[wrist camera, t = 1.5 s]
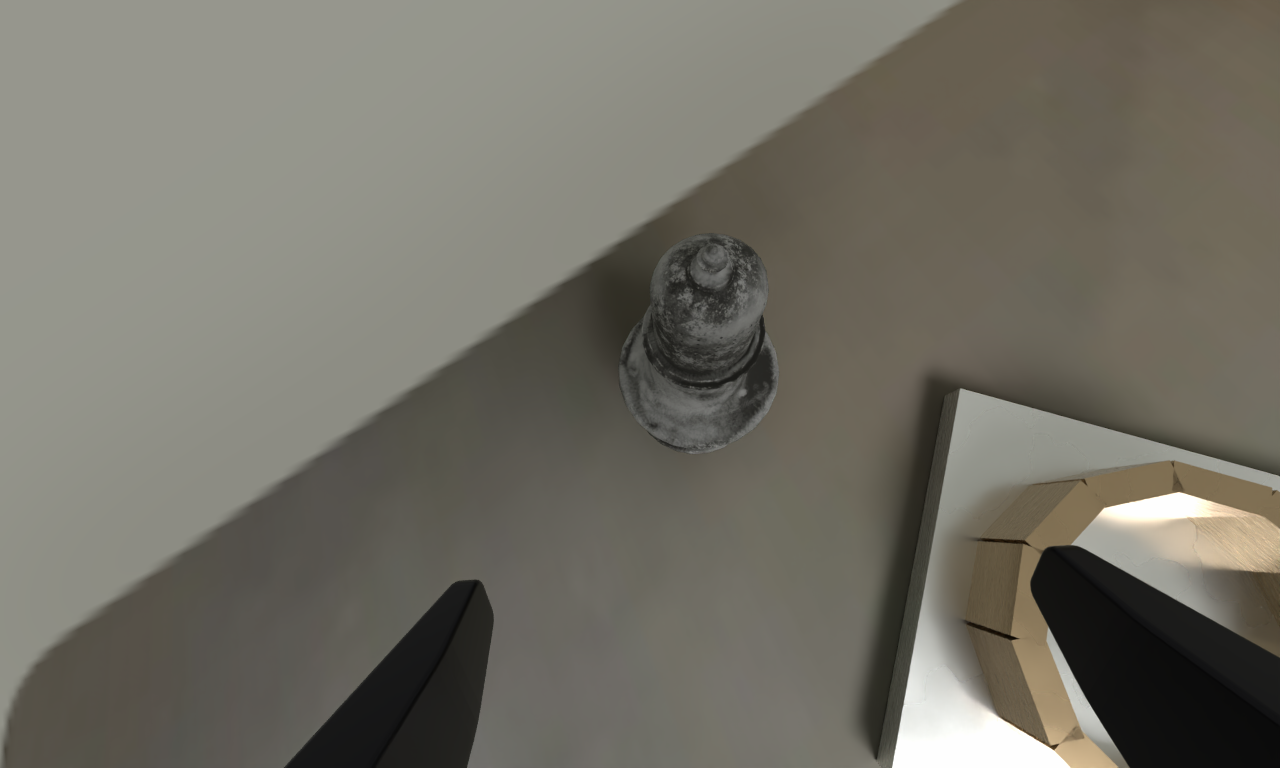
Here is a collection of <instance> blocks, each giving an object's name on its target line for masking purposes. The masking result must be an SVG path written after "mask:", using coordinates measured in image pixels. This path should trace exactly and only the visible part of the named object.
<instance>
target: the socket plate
mask: <svg viewBox="0 0 1280 768" xmlns="http://www.w3.org/2000/svg"><path fill="white" fill-rule="evenodd" d="M1060 545H1075V546H1079V547H1082V548H1084V549H1086V550H1088V551H1089V552H1091V553H1093V554H1095V555H1097V556H1098V557H1100V558H1102V559H1104V560H1106V561H1107V562H1109V563H1111V564H1113V565H1115V566H1116V567H1118V568H1120V569H1122V570H1124V571H1125V572H1127V573H1129V574H1131V575H1133V576H1134V577H1136V578H1138V579H1140V580H1142V581H1143V582H1145V583H1147V584H1149V585H1151V586H1152V587H1154V588H1156V589H1158V590H1160V591H1161V592H1163V593H1165V594H1167V595H1169V596H1170V597H1172V598H1174V599H1176V600H1178V601H1179V602H1181V603H1183V604H1185V605H1186V606H1188V607H1190V608H1192V609H1194V610H1195V611H1197V612H1199V613H1201V614H1203V615H1204V616H1206V617H1208V618H1210V619H1212V620H1213V621H1215V622H1217V623H1219V624H1221V625H1222V626H1224V627H1226V628H1228V629H1230V630H1231V631H1233V632H1235V633H1237V634H1239V635H1240V636H1242V637H1244V638H1246V639H1248V640H1249V641H1251V642H1253V643H1255V644H1257V645H1258V646H1260V647H1262V648H1264V649H1266V650H1267V651H1269V652H1271V653H1273V654H1275V655H1276V656H1278V657H1280V476H1278V475H1274V474H1270V473H1267V472H1263V471H1260V470H1256V469H1252V468H1249V467H1245V466H1241V465H1238V464H1234V463H1230V462H1227V461H1223V460H1220V459H1216V458H1212V457H1209V456H1205V455H1201V454H1198V453H1194V452H1190V451H1187V450H1183V449H1179V448H1176V447H1172V446H1169V445H1165V444H1161V443H1158V442H1154V441H1150V440H1147V439H1143V438H1139V437H1136V436H1132V435H1129V434H1125V433H1121V432H1118V431H1114V430H1110V429H1107V428H1103V427H1099V426H1096V425H1092V424H1089V423H1085V422H1081V421H1078V420H1074V419H1070V418H1067V417H1063V416H1059V415H1056V414H1052V413H1048V412H1045V411H1041V410H1038V409H1034V408H1030V407H1027V406H1023V405H1019V404H1016V403H1012V402H1008V401H1005V400H1001V399H998V398H994V397H990V396H987V395H983V394H979V393H976V392H972V391H968V390H965V389H961V388H960V389H958V390H956V391H953V392H951V393H949V394H947V395H945V397H944V402H943V407H942V413H941V418H940V424H939V429H938V434H937V440H936V445H935V450H934V456H933V461H932V467H931V472H930V477H929V483H928V488H927V493H926V499H925V504H924V509H923V515H922V520H921V526H920V531H919V536H918V542H917V547H916V552H915V558H914V563H913V568H912V574H911V579H910V585H909V590H908V595H907V601H906V606H905V611H904V617H903V622H902V627H901V633H900V638H899V644H898V649H897V654H896V660H895V665H894V670H893V676H892V681H891V686H890V692H889V697H888V703H887V708H886V713H885V719H884V724H883V729H882V735H881V740H880V745H879V751H878V756H877V763H878V764H879V765H880V766H881V767H882V768H1129V766H1128V765H1127V763H1126V762H1125V760H1124V758H1123V757H1122V755H1121V754H1120V752H1119V751H1118V749H1117V747H1116V746H1115V744H1114V743H1113V741H1112V739H1111V738H1110V736H1109V735H1108V733H1107V732H1106V730H1105V728H1104V727H1103V725H1102V724H1101V722H1100V721H1099V719H1098V717H1097V716H1096V714H1095V713H1094V711H1093V709H1092V708H1091V706H1090V704H1089V703H1088V701H1087V699H1086V698H1085V696H1084V694H1083V692H1082V690H1081V689H1080V687H1079V685H1078V683H1077V681H1076V679H1075V678H1074V676H1073V674H1072V672H1071V670H1070V668H1069V666H1068V664H1067V662H1066V660H1065V658H1064V656H1063V654H1062V652H1061V650H1060V648H1059V647H1058V645H1057V643H1056V641H1055V639H1054V637H1053V635H1052V633H1051V631H1050V629H1049V627H1048V625H1047V623H1046V621H1045V619H1044V617H1043V616H1042V614H1041V612H1040V610H1039V608H1038V606H1037V604H1036V602H1035V600H1034V598H1033V596H1032V593H1031V588H1030V580H1031V577H1032V575H1033V573H1034V570H1035V568H1036V566H1037V563H1038V561H1039V559H1040V556H1041V554H1042V552H1043V550H1044V549H1046V548H1047V547H1049V546H1060Z"/></svg>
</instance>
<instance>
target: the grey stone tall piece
mask: <svg viewBox="0 0 1280 768" xmlns="http://www.w3.org/2000/svg"><path fill="white" fill-rule="evenodd" d="M768 291H769V289H768V280H767V273H766V269H765V267H764V265H763V263H762V261H761V258H760V257H759V256H758V255H757V254H756V253H755V251H754V250H753V249H752V248H751V247H749V246H748V245H746V244H745V243H744V242H742V241H741V240H739V239H736V238H733V237H730V236H728V235H722V234H714V233H709V234H699V235H695V236H692V237H689V238H686V239H683V240H682V241H680V242H678V243H677V244H675V245H674V246H672V247H671V248H670V249H669V250H668V251H667V252H666V253H665V254H664V255H663V256H662V257H661V259H660V261H659V262H658V264H657V266H656V268H655V270H654V272H653V275H652V280H651V284H650V301H651V304H650V306H649V308H648V310H647V312H646V314H645V316H644V317H643V318H642V319H641V320H640V321H639V322H638V323H637V324H636V325H635V326H634V328H633V329H632V330H631V332H630V334H629V336H628V337H627V339H626V341H625V343H624V345H623V347H622V352H621V356H620V361H619V365H618V369H619V386H620V389H621V392H622V395H623V398H624V401H625V404H626V406H627V407H628V409H629V410H630V412H631V413H632V415H633V416H634V418H635V419H636V421H637V422H638V423H639V424H640V425H641V426H642V427H644V428H645V429H646V430H647V431H648V433H649V434H650V435H651V436H653V437H654V438H655V439H656V440H657V441H658V442H660V443H661V444H662V445H665V446H667V447H669V448H671V449H673V450H675V451H679V452H684V453H690V454H698V453H709V452H712V451H715V450H718V449H721V448H723V447H725V446H727V445H728V444H729V443H732V442H735V441H737V440H739V439H740V438H741V437H743V436H744V435H746V434H747V433H749V432H750V431H752V430H753V429H754V428H755V427H756V426H757V425H758V424H759V422H760V421H761V420H762V419H763V418H764V416H765V415H766V414H767V413H768V411H769V409H770V407H771V404H772V402H773V400H774V397H775V395H776V393H777V385H778V378H779V368H778V362H777V355H776V351H775V349H774V347H773V344H772V342H771V340H770V338H769V335H768V334H767V333H766V331H765V325H764V318H763V316H762V313H763V311H764V309H765V306H766V303H767V297H768Z"/></svg>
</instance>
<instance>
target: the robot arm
mask: <svg viewBox="0 0 1280 768" xmlns="http://www.w3.org/2000/svg"><path fill="white" fill-rule="evenodd" d="M1030 588H1031V593H1032V596H1033V598H1034V600H1035V602H1036V604H1037V606H1038V608H1039V610H1040V612H1041V614H1042V616H1043V617H1044V619H1045V621H1046V623H1047V625H1048V627H1049V629H1050V631H1051V633H1052V635H1053V637H1054V639H1055V641H1056V643H1057V645H1058V647H1059V648H1060V650H1061V652H1062V654H1063V656H1064V658H1065V660H1066V662H1067V664H1068V666H1069V668H1070V670H1071V672H1072V674H1073V676H1074V678H1075V679H1076V681H1077V683H1078V685H1079V687H1080V689H1081V690H1082V692H1083V694H1084V696H1085V698H1086V699H1087V701H1088V703H1089V704H1090V706H1091V708H1092V709H1093V711H1094V713H1095V714H1096V716H1097V717H1098V719H1099V721H1100V722H1101V724H1102V725H1103V727H1104V728H1105V730H1106V732H1107V733H1108V735H1109V736H1110V738H1111V739H1112V741H1113V743H1114V744H1115V746H1116V747H1117V749H1118V751H1119V752H1120V754H1121V755H1122V757H1123V758H1124V760H1125V762H1126V763H1127V765H1128V766H1129V768H1280V657H1278V656H1276V655H1275V654H1273V653H1271V652H1269V651H1267V650H1266V649H1264V648H1262V647H1260V646H1258V645H1257V644H1255V643H1253V642H1251V641H1249V640H1248V639H1246V638H1244V637H1242V636H1240V635H1239V634H1237V633H1235V632H1233V631H1231V630H1230V629H1228V628H1226V627H1224V626H1222V625H1221V624H1219V623H1217V622H1215V621H1213V620H1212V619H1210V618H1208V617H1206V616H1204V615H1203V614H1201V613H1199V612H1197V611H1195V610H1194V609H1192V608H1190V607H1188V606H1186V605H1185V604H1183V603H1181V602H1179V601H1178V600H1176V599H1174V598H1172V597H1170V596H1169V595H1167V594H1165V593H1163V592H1161V591H1160V590H1158V589H1156V588H1154V587H1152V586H1151V585H1149V584H1147V583H1145V582H1143V581H1142V580H1140V579H1138V578H1136V577H1134V576H1133V575H1131V574H1129V573H1127V572H1125V571H1124V570H1122V569H1120V568H1118V567H1116V566H1115V565H1113V564H1111V563H1109V562H1107V561H1106V560H1104V559H1102V558H1100V557H1098V556H1097V555H1095V554H1093V553H1091V552H1089V551H1088V550H1086V549H1084V548H1082V547H1079V546H1075V545H1060V546H1049V547H1047V548H1046V549H1044V550H1043V552H1042V554H1041V556H1040V559H1039V561H1038V563H1037V566H1036V568H1035V570H1034V573H1033V575H1032V577H1031V580H1030ZM493 622H494V617H493V610H492V607H491V605H490V602H489V599H488V596H487V594H486V591H485V588H484V586H483V584H482V582H481V581H479V580H462V581H457V582H455V583H453V584H452V585H451V586H450V587H449V588H448V589H447V590H446V591H445V592H444V594H443V595H442V596H441V597H440V598H439V599H438V600H437V601H436V602H435V603H434V604H433V606H432V607H431V608H430V609H429V610H428V611H427V612H426V613H425V614H424V615H423V616H422V618H421V619H420V620H419V621H418V622H417V623H416V624H415V625H414V626H413V627H412V628H411V630H410V631H409V632H408V633H407V634H406V635H405V636H404V637H403V638H402V639H401V641H400V642H399V643H398V644H397V645H396V646H395V647H394V648H393V649H392V650H391V651H390V653H389V654H388V655H387V656H386V657H385V658H384V659H383V660H382V661H381V662H380V663H379V665H378V666H377V667H376V668H375V669H374V670H373V671H372V672H371V673H370V674H369V675H368V677H367V678H366V679H365V680H364V681H363V682H362V683H361V684H360V685H359V686H358V687H357V689H356V690H355V691H354V692H353V693H352V694H351V695H350V696H349V697H348V698H347V699H346V701H345V702H344V703H343V704H342V705H341V706H340V707H339V708H338V709H337V710H336V711H335V713H334V714H333V715H332V716H331V717H330V718H329V719H328V720H327V721H326V722H325V723H324V725H323V726H322V727H321V728H320V729H319V730H318V731H317V732H316V733H315V734H314V735H313V737H312V738H311V739H310V740H309V741H308V742H307V743H306V744H305V745H304V746H303V747H302V749H301V750H300V751H299V752H298V753H297V754H296V755H295V756H294V757H293V758H292V759H291V761H290V762H289V763H288V764H287V765H286V766H285V767H284V768H467V765H468V761H469V757H470V753H471V749H472V745H473V742H474V737H475V733H476V729H477V724H478V719H479V713H480V708H481V701H482V695H483V688H484V682H485V676H486V669H487V663H488V656H489V650H490V643H491V637H492V630H493Z"/></svg>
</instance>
